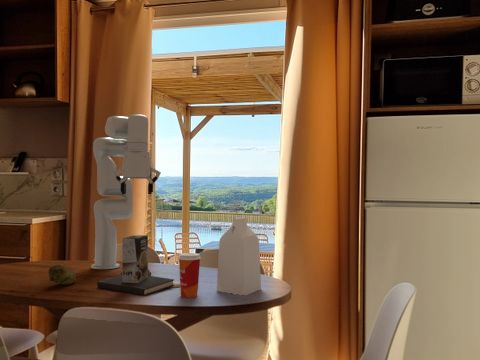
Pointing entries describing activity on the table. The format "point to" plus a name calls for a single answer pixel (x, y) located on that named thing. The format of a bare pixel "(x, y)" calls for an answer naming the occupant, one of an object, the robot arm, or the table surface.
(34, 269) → the table surface
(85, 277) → the table surface
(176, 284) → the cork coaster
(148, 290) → the hardcover book
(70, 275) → the potato
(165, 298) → the table surface
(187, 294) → the paper cup
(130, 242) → the coffee box
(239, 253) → the milk
